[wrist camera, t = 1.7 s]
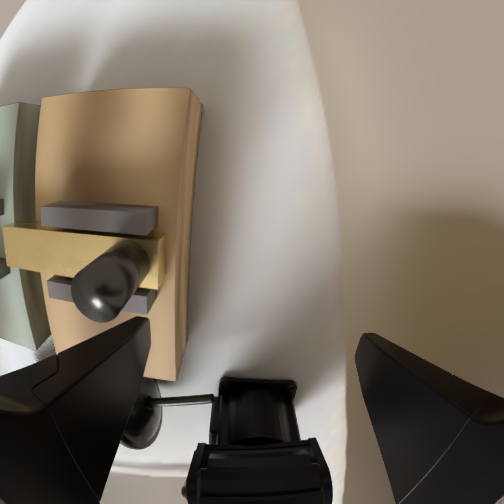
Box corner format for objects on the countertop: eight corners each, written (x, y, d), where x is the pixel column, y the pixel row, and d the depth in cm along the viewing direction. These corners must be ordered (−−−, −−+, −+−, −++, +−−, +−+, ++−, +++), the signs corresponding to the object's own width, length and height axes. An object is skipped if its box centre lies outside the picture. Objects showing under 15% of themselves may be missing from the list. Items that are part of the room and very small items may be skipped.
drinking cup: (52, 445, 21) (231, 462, 18) (-2, 407, 17) (181, 427, 14) (69, 388, 27) (233, 378, 24) (25, 346, 23) (195, 322, 20)
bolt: (166, 233, 15) (130, 270, 10) (165, 277, 16) (133, 330, 10) (18, 220, 14) (-42, 245, 9) (21, 257, 15) (-33, 290, 10)
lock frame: (202, 105, 18) (182, 78, 11) (187, 340, 23) (170, 402, 16) (-13, 122, 16) (-69, 122, 10) (-3, 301, 21) (-45, 335, 15)
